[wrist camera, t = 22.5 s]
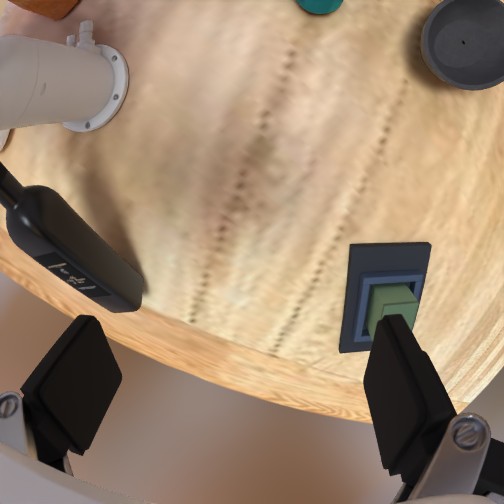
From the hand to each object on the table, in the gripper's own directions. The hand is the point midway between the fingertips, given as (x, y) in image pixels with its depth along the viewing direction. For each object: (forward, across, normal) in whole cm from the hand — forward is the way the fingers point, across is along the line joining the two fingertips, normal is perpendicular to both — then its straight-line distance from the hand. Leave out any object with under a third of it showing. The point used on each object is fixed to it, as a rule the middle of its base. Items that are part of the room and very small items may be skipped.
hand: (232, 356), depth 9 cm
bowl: (+28, -28, -21) cm, 45 cm away
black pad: (+28, -17, +17) cm, 37 cm away
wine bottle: (+26, +20, +14) cm, 36 cm away
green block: (+27, -17, +17) cm, 36 cm away
